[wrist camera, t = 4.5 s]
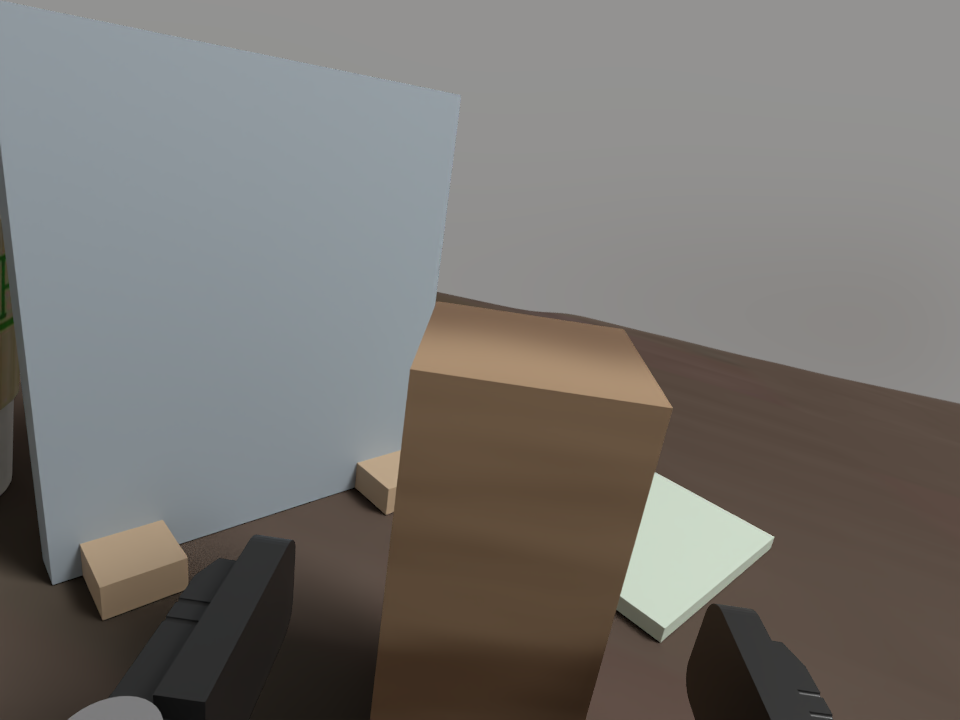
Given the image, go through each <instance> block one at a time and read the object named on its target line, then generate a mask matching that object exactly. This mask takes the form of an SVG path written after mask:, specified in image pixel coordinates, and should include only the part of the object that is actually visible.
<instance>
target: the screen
mask: <svg viewBox="0 0 960 720" xmlns="http://www.w3.org/2000/svg"><path fill="white" fill-rule="evenodd" d="M460 101H461V95H458V94H453V93H448V92H443V91H438V90H433V89H429V88H424V87H419V86H414V85H409V84H405V83H400V82H395V81H389V80H385V79H380V78H375V77H370V76H365V75H360V74H356V73H351V72H346V71H341V70H336V69H331V68H327V67H322V66H317V65H312V64H307V63H302V62H298V61H292V60H287V59H283V58H278V57H273V56H268V55H263V54H259V53H253V52H248V51H243V50H239V49H234V48H229V47H224V46H220V45H215V44H210V43H205V42H200V41H195V40H190V39H186V38H180V37H175V36H171V35H166V34H161V33H156V32H152V31H147V30H142V29H137V28H132V27H127V26H122V25H117V24H113V23H107V22H103V21H98V20H93V19H88V18H83V17H79V16H74V15H69V14H64V13H59V12H54V11H49V10H45V9H40V8H35V7H30V6H25V5H20V4H15V3H10V2H6V1H1V0H0V214H1V222H2V230H3V239H4V247H5V255H6V263H7V271H8V279H9V287H10V296H11V304H12V312H13V320H14V328H15V336H16V344H17V353H18V361H19V369H20V377H21V385H22V393H23V401H24V410H25V418H26V426H27V434H28V442H29V450H30V458H31V467H32V475H33V483H34V491H35V499H36V507H37V515H38V524H39V532H40V540H41V548H42V556H43V561H44V564H45V566H46V569H47V572H48V574H49V577H50V580H51V582H52V585H54V584H57V583H60V582H64V581H67V580H70V579H73V578H76V577H79V576H82V575H83V577H84V579H85V582H86V584H87V586H88V588H89V591H90V593H91V595H92V597H93V600H94V602H95V604H96V606H97V609H98V611H99V613H100V616H101V618H102V620H106V619H108V618H111V617H114V616H116V615H119V614H122V613H124V612H127V611H130V610H132V609H135V608H138V607H141V606H143V605H146V604H149V603H151V602H154V601H157V600H159V599H162V598H165V597H167V596H170V595H173V594H175V593H178V592H181V591H183V590H185V589H186V587H187V586H188V557H187V556H186V554H185V553H184V551H183V550H182V548H181V547H180V545H179V544H181V543H184V542H187V541H190V540H194V539H197V538H200V537H203V536H206V535H209V534H212V533H215V532H218V531H221V530H224V529H228V528H231V527H234V526H237V525H240V524H243V523H246V522H249V521H252V520H255V519H259V518H262V517H265V516H268V515H271V514H274V513H277V512H280V511H283V510H286V509H289V508H293V507H296V506H299V505H302V504H305V503H308V502H311V501H314V500H317V499H320V498H324V497H327V496H330V495H333V494H336V493H339V492H342V491H345V490H348V489H351V488H354V487H355V488H356V489H357V490H358V491H360V492H361V493H362V494H363V495H364V496H365V497H366V498H367V499H369V500H370V501H371V502H372V503H373V504H374V505H375V506H376V507H378V508H379V509H380V510H381V511H382V512H383V513H384V514H385V515H387V514H390V513H393V512H394V505H395V496H396V487H397V479H398V470H399V461H400V452H401V444H402V435H403V426H404V417H405V409H406V400H407V391H408V382H409V374H410V368H411V365H412V363H413V360H414V358H415V355H416V353H417V350H418V348H419V345H420V343H421V340H422V338H423V335H424V333H425V330H426V328H427V325H428V322H429V320H430V317H431V315H432V312H433V310H434V307H435V301H436V293H437V284H438V277H439V268H440V260H441V253H442V245H443V237H444V228H445V221H446V213H447V205H448V196H449V189H450V180H451V173H452V165H453V157H454V149H455V141H456V133H457V125H458V117H459V109H460Z"/></svg>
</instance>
